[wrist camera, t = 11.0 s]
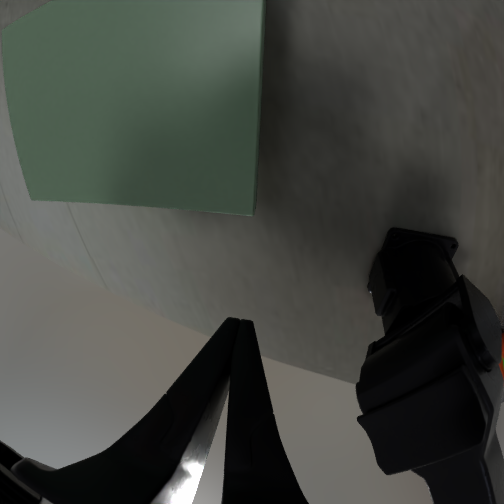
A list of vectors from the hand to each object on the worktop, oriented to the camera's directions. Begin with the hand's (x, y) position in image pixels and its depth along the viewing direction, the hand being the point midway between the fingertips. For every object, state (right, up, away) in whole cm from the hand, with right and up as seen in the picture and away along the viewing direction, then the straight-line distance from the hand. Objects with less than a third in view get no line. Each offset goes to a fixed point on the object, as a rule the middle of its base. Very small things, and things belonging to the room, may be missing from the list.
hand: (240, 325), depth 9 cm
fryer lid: (-6, +10, +1) cm, 12 cm away
